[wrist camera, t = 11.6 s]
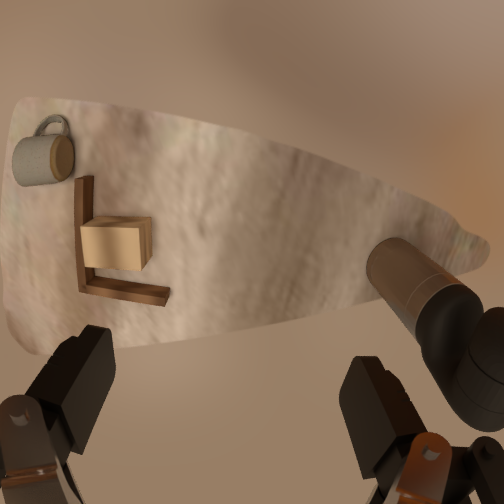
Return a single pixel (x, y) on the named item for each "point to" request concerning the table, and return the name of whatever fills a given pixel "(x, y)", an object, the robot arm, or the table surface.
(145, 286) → the corner fence
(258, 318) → the table surface
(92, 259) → the oak block
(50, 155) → the ceramic mug
